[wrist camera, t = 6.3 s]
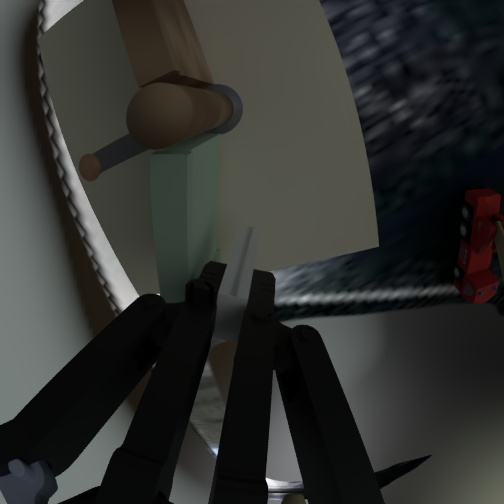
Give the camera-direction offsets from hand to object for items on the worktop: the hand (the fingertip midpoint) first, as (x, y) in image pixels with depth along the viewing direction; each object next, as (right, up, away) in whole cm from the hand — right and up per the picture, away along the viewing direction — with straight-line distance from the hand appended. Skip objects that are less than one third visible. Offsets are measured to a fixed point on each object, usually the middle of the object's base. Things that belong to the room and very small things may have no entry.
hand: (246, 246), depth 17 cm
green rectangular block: (-3, +3, +2) cm, 5 cm away
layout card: (-4, +10, 0) cm, 10 cm away
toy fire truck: (+20, +3, +2) cm, 20 cm away
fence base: (-4, +15, -4) cm, 16 cm away
